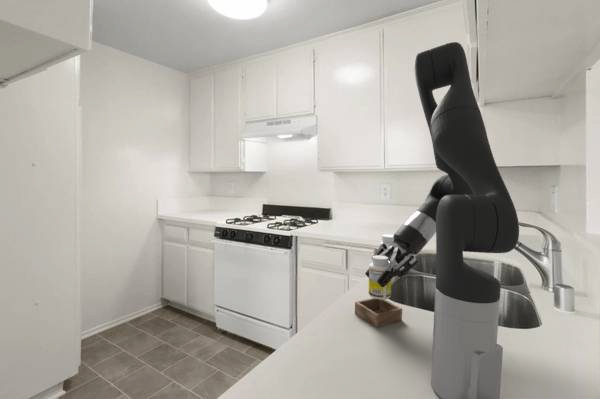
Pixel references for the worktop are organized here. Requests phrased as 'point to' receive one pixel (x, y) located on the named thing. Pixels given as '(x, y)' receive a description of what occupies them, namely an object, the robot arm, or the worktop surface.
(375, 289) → the supplement bottle
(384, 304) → the wooden box
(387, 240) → the supplement bottle
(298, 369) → the worktop surface
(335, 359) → the worktop surface
